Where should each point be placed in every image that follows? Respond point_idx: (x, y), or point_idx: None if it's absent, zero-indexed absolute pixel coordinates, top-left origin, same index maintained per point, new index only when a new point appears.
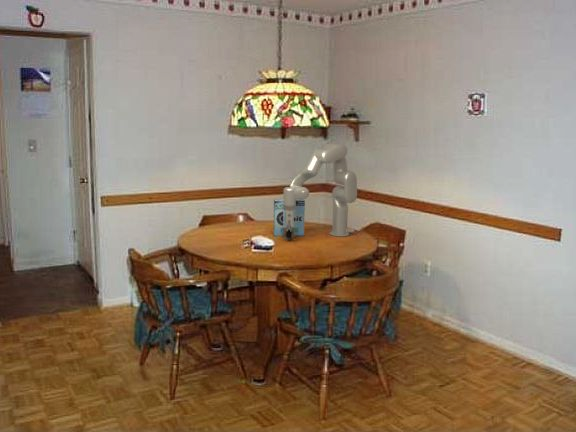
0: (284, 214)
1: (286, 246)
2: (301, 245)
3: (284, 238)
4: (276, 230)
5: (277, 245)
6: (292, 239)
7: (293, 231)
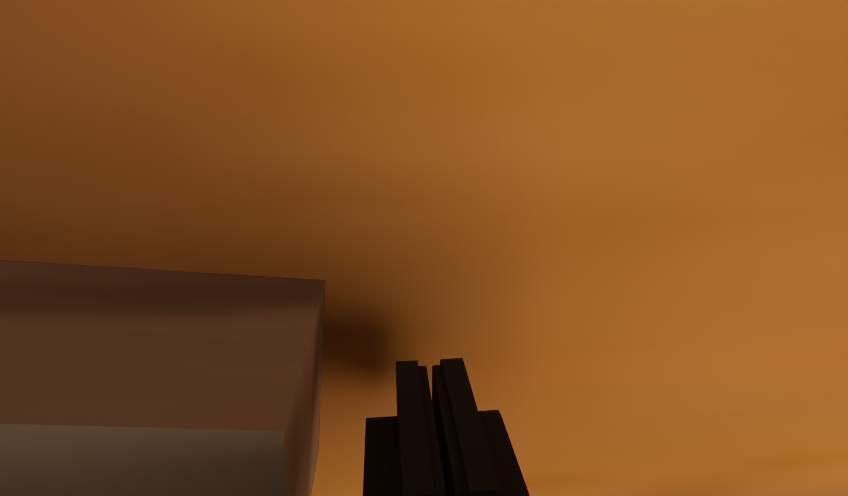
0: None
1: (813, 367)
2: (792, 85)
3: (314, 455)
4: None
5: (719, 492)
6: (320, 296)
7: (65, 386)
